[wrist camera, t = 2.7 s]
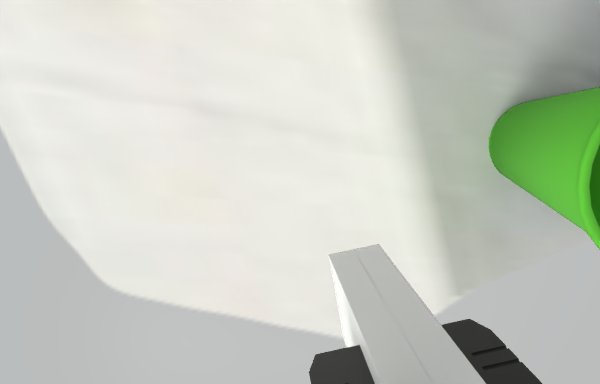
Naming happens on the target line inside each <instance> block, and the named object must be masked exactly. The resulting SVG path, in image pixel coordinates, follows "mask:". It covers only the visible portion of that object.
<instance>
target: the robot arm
mask: <svg viewBox="0 0 600 384" xmlns="http://www.w3.org/2000/svg"><path fill="white" fill-rule="evenodd" d="M329 260H330V266H331V271H332V277H333V283H334V288H335V294H336V300H337V305H338V311H339V317H340V322H341V328H342V334H343V338H344V341H345V344H346V346H347V348H343V349H339V350H334V351H330V352H325V353H320V354H316V355H315V357H314V360H313V363H312V366H311V368H310V371H309V374H310V380H311V384H542V383H541V382H540V381H539V380H538V379H537V378H536V376H535V375H534V374H533V373H532V372H531V371H530V370H529V369H528V368H527V367H526V366H525V365H524V364H523V363H522V362H519V360H518V358H517V357H516V356H515V355H514V354H513V353H512V351H511V350H510V349H507V348H506V345H505V344H504V343H503V342H502V341H501V340H500V339H499V338H498V337H497V336H496V335H495V334H494V333H493V332H492V331H491V330H490V329H488V328H486V327H484V326H482V325H480V324H478V323H477V322H475V321H473V320H471V319H466V320H462V321H457V322H453V323H448V324H444V325H441V324H440V323H439V322H438V321H437V319H436V318H435V317H434V315H433V314H432V313H431V311H430V310H429V309H428V308H427V306H426V305H425V304H424V302H423V301H422V300H421V298H420V297H419V296H418V295H417V293H416V292H415V291H414V289H413V288H412V287H411V285H410V284H409V283H408V282H407V280H406V279H405V278H404V276H403V275H402V274H401V272H400V271H399V270H398V269H397V267H396V266H395V265H394V263H393V262H392V261H391V259H390V258H389V257H388V256H387V254H386V253H385V252H384V250H383V249H382V248H381V246H380V245H379V244H378V245H373V246H368V247H363V248H358V249H354V250H349V251H344V252H339V253H335V254H330V255H329Z"/></svg>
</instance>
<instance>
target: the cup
mask: <svg viewBox="0 0 600 384" xmlns="http://www.w3.org/2000/svg"><path fill="white" fill-rule="evenodd" d="M489 152H490V156H491V159H492V161H493V164H494V166H495V167H496V168H497V170H498V171H499V172H500V173H501V174H503V175H504V176H505V177H507V178H508V179H510V180H511V181H513V182H514V183H516V184H517V185H518V186H520V187H521V188H523V189H524V190H526V191H527V192H529V193H530V194H532V195H533V196H535V197H536V198H538V199H539V200H540V201H542V202H543V203H545V204H546V205H548V206H549V207H551V208H552V209H554V210H555V211H557V212H558V213H560V214H561V215H562V216H564V217H565V218H567V219H568V220H570V221H571V222H573V223H574V224H576V225H577V226H579V227H580V228H581V229H583V230H584V231H586V232H587V234H588V235H589V236H590V238H591V239H592V240H593V241H594V243H595V244H596V245H597V246H598V248H599V249H600V87H597V88H592V89H587V90H582V91H578V92H573V93H568V94H563V95H559V96H554V97H549V98H544V99H539V100H535V101H530V102H525V103H521V104H519V105H517V106H514V107H512V108H511V109H510V110H508V111H507V112H506V113H505V114H503V115H502V116H501V118H500V119H499V120H498V121H497V122H496V124H495V126H494V127H493V129H492V132H491V135H490V138H489Z"/></svg>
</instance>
